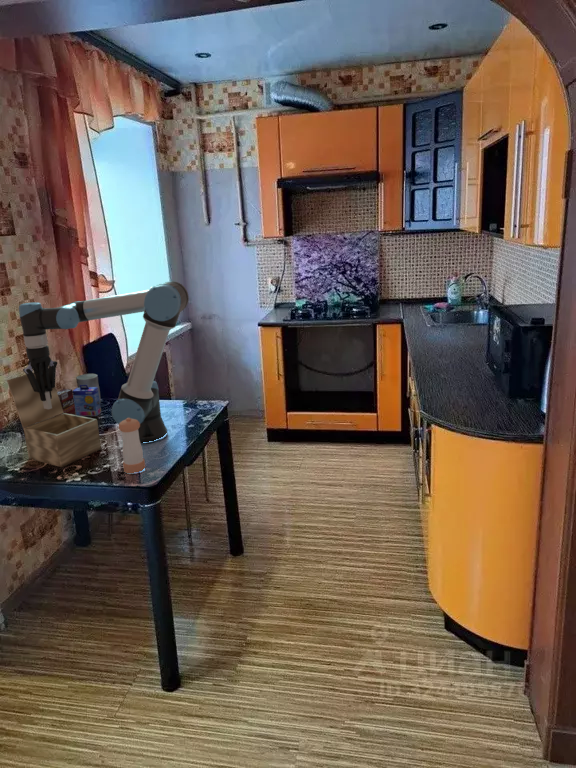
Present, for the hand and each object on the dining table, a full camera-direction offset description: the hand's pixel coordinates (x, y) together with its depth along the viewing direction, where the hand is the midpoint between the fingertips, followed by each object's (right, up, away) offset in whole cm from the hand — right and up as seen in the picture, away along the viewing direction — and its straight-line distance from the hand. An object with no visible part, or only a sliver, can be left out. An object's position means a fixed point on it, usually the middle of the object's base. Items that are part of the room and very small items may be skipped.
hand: (48, 408), depth 206 cm
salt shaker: (+36, -21, -15) cm, 44 cm away
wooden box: (+6, -17, +2) cm, 18 cm away
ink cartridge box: (-1, -5, +45) cm, 45 cm away
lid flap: (-5, +4, +1) cm, 6 cm away
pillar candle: (-6, -1, +61) cm, 61 cm away
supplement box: (-5, -10, +29) cm, 31 cm away
